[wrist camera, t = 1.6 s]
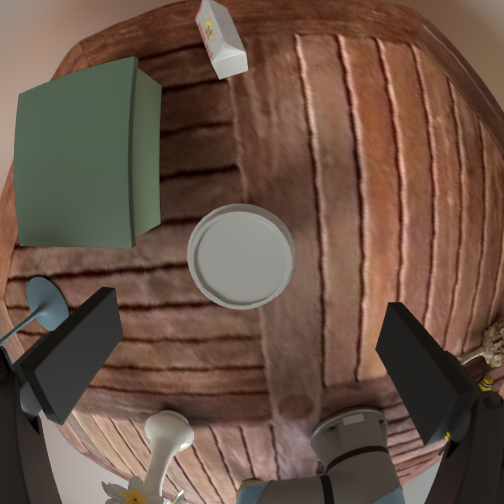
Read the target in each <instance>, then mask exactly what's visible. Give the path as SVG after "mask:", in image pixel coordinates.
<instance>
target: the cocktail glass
mask: <svg viewBox="0 0 504 504" xmlns="http://www.w3.org/2000/svg"><path fill="white" fill-rule="evenodd" d="M27 301H28V304H29V307H30V309H31V312H32V314H31V315H30V316H29V317H28V318H26V319H25V320H24V321H23V322H21V323H20V324H19V325H18V326H17V327H15V328H14V329H13V330H12V331H10V332H9V333H8V334H7V335H6V336H4V337H3V338H2V339H1V340H0V345H1V344H2V343H3V342H5V341H6V340H7V339H8V338H9V337H11V336H12V335H13V334H14V333H15V332H17V331H18V330H19V329H21V328H22V327H23V326H24V325H26V324H27V323H28V322H30V321H31V320H32V319H34V318H36V320H37V321H38V322H39V323H40V324H41V325H42V326H43V327H44V328H46V329H47V330H49V331H52V330H55V329H56V328H57V327H58V326H59V325H60V324H61V323H62V322H63V321H64V320H65V319H66V318H68V317H69V310H68V306H67V304H66V301H65V299H64V297H63V295H62V294H61V292H60V291H59V289H58V288H57V287H56V286H55V285H54V284H53V283H52V282H51V281H49V280H48V279H46V278H44V277H34V278H33V279H31V280H30V281H29V283H28V286H27Z"/></svg>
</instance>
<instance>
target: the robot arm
mask: <svg viewBox="0 0 504 504" xmlns="http://www.w3.org/2000/svg"><path fill="white" fill-rule="evenodd" d="M122 337H123V331H122V326H121V321H120V315H119V310H118V304H117V297H116V291H115V288H110V287H101V288H100V289H99V290H98V291H97V292H95V293H94V294H93V295H92V296H91V297H90V298H89V299H87V300H86V301H85V302H84V303H83V304H82V305H81V306H80V307H79V308H77V309H76V310H75V311H74V312H73V313H72V314H71V315H70V316H69V317H68V318H66V319H65V320H64V321H63V322H62V323H61V324H60V325H59V326H58V327H57V328H56V329H55V330H52V331H50V332H48V333H46V334H44V335H43V336H41V337H40V338H39V339H38V340H37V341H36V343H34V344H33V345H32V346H31V348H29V349H28V350H27V351H26V352H25V353H24V354H23V355H22V356H21V357H20V358H19V359H18V360H17V361H16V362H15V363H14V364H13V365H12V363H11V360H10V358H9V356H8V353H7V351H6V349H5V348H4V347H3V346H0V504H62V501H61V498H60V495H59V493H58V489H57V486H56V483H55V480H54V477H53V473H52V469H51V465H50V462H49V457H48V453H47V449H46V444H45V439H44V434H43V429H42V423H41V419H40V417H39V415H38V413H39V412H40V410H41V409H42V410H43V412H44V413H45V415H46V417H47V419H49V420H51V421H53V422H56V423H58V424H60V425H63V424H64V422H65V420H66V419H67V417H68V416H69V414H70V413H71V411H72V410H73V408H74V406H75V405H76V403H77V402H78V400H79V399H80V397H81V396H82V394H83V393H84V391H85V390H86V388H87V387H88V385H89V384H90V382H91V381H92V380H93V378H94V377H95V375H96V374H97V372H98V371H99V369H100V368H101V366H102V365H103V364H104V362H105V361H106V359H107V358H108V357H109V355H110V354H111V352H112V351H113V349H114V348H115V347H116V345H117V344H118V343H119V341H120V340H121V338H122ZM375 350H376V351H377V353H378V355H379V357H380V359H381V361H382V362H383V364H384V366H385V368H386V370H387V372H388V374H389V375H390V377H391V379H392V381H393V383H394V385H395V387H396V389H397V391H398V393H399V395H400V397H401V399H402V400H403V402H404V404H405V406H406V408H407V410H408V412H409V414H410V417H411V419H412V421H413V423H414V425H415V427H416V429H417V431H418V433H419V435H420V437H421V439H422V442H423V444H424V446H428V445H431V444H434V443H437V442H440V441H441V440H442V439H443V437H444V436H445V434H446V433H447V432H448V433H449V435H450V436H451V438H450V439H449V440H448V442H447V443H446V444H445V446H444V447H443V448H442V449H441V451H440V452H439V454H438V455H439V456H440V455H441V454H442V453H443V451H444V454H443V457H442V460H441V463H440V466H439V469H438V472H437V474H436V477H435V479H434V482H433V485H432V487H431V489H430V492H429V494H428V497H427V499H426V501H425V503H424V504H504V399H503V398H502V396H500V395H499V394H498V393H496V392H494V391H490V390H487V391H483V390H482V389H481V388H480V386H479V385H478V384H477V383H476V381H475V380H474V379H473V377H472V376H471V375H470V374H469V372H468V371H467V372H466V369H465V368H464V366H463V365H461V363H460V361H459V360H458V359H457V358H456V357H455V356H454V355H452V354H451V353H449V352H448V351H444V350H443V349H442V348H441V347H440V346H439V344H438V343H437V342H436V341H435V340H434V338H433V337H432V336H431V335H430V334H429V333H428V331H427V330H426V329H425V328H424V327H423V326H422V325H421V323H420V322H419V321H418V320H417V319H416V318H415V317H414V316H413V314H412V313H411V312H410V311H409V310H408V309H407V308H406V307H405V306H404V304H403V303H402V302H388V306H387V310H386V314H385V317H384V321H383V325H382V328H381V332H380V335H379V339H378V342H377V345H376V348H375ZM387 431H388V425H387V420H386V417H385V415H384V413H383V412H382V411H381V410H380V409H379V408H376V407H373V406H355V407H350V408H346V409H343V410H340V411H338V412H335V413H333V414H331V415H329V416H328V417H326V418H325V419H323V420H322V421H320V422H319V423H318V424H317V425H316V426H315V428H314V429H313V431H312V433H311V436H310V439H311V446H312V448H313V450H314V452H315V454H316V455H317V457H318V458H319V460H320V461H321V463H322V464H323V467H322V476H315V477H307V478H299V479H289V480H276V481H274V480H269V481H263V482H252V483H249V484H247V485H245V486H244V487H243V488H242V490H241V492H240V494H239V496H238V499H237V502H236V504H405V500H404V496H403V492H402V491H403V488H402V487H401V485H400V482H399V479H398V476H397V473H396V471H395V468H394V465H393V463H392V460H391V457H390V455H389V452H388V449H387Z"/></svg>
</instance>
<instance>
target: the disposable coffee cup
mask: <svg viewBox="0 0 504 504" xmlns="http://www.w3.org/2000/svg"><path fill="white" fill-rule="evenodd" d="M187 260H188V266H189V270H190V273H191V275H192V278H193V280H194V281H195V283H196V285H197V286H198V288H199V289H200V290H201V292H202V293H203V294H204V295H206V296H207V297H208V298H209V299H210V300H212V301H213V302H215V303H217V304H219V305H221V306H224V307H227V308H231V309H240V310H245V309H252V308H256V307H259V306H262V305H265V304H266V303H268V302H269V301H271V300H273V299H274V298H275V297H277V296H278V295H279V294H280V293H281V292H282V291H283V290H284V289H285V288H286V286H287V285H288V283H289V282H290V280H291V278H292V275H293V272H294V269H295V264H296V250H295V245H294V241H293V238H292V236H291V234H290V232H289V230H288V229H287V227H286V226H285V225H284V223H283V222H282V221H281V220H280V219H279V218H278V217H277V216H275V215H274V214H273V213H271V212H269V211H268V210H266V209H264V208H261V207H258V206H256V205H251V204H241V203H237V204H230V205H226V206H223V207H220V208H217V209H215V210H213V211H212V212H211V213H209V214H208V215H206V216H205V217H203V219H202V220H201V221H200V222H199V223H198V224H197V226H196V227H195V229H194V231H193V232H192V234H191V237H190V240H189V243H188V250H187Z"/></svg>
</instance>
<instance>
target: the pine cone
mask: <svg viewBox="0 0 504 504" xmlns="http://www.w3.org/2000/svg"><path fill="white" fill-rule="evenodd" d="M483 338H484V343H483V344H482V346H481V348H479V349H477V350H475V351H474V352H471V353H469V354H467V355H465V356H463V357H462V358H460V357H457V359H458V360H459V361H460V363H461V365H464V364H465V363H466V362H468V361H469V360H471V359H473V358H475V357H477V356H479V355H482V356H484V357H485V360H486V362H487V364H489V363H490V366H491V367H492V368H493V367H500V366H501V365H503V366H504V318H503V319H502V320H501V322H500V323H498V322H495V324H493V325H492V326H490V327H489V330H485V333H483Z"/></svg>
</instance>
